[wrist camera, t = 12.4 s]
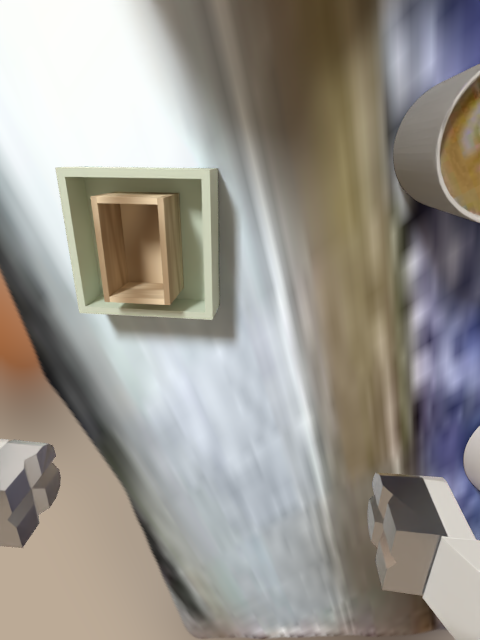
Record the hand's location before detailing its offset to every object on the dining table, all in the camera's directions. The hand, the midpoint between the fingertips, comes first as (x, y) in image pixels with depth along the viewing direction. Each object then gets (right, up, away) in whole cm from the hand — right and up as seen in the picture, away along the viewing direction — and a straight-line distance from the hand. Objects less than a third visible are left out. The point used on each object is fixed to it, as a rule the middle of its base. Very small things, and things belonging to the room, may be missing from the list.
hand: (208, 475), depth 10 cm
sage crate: (-8, +12, +28) cm, 31 cm away
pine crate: (-8, +11, +27) cm, 30 cm away
